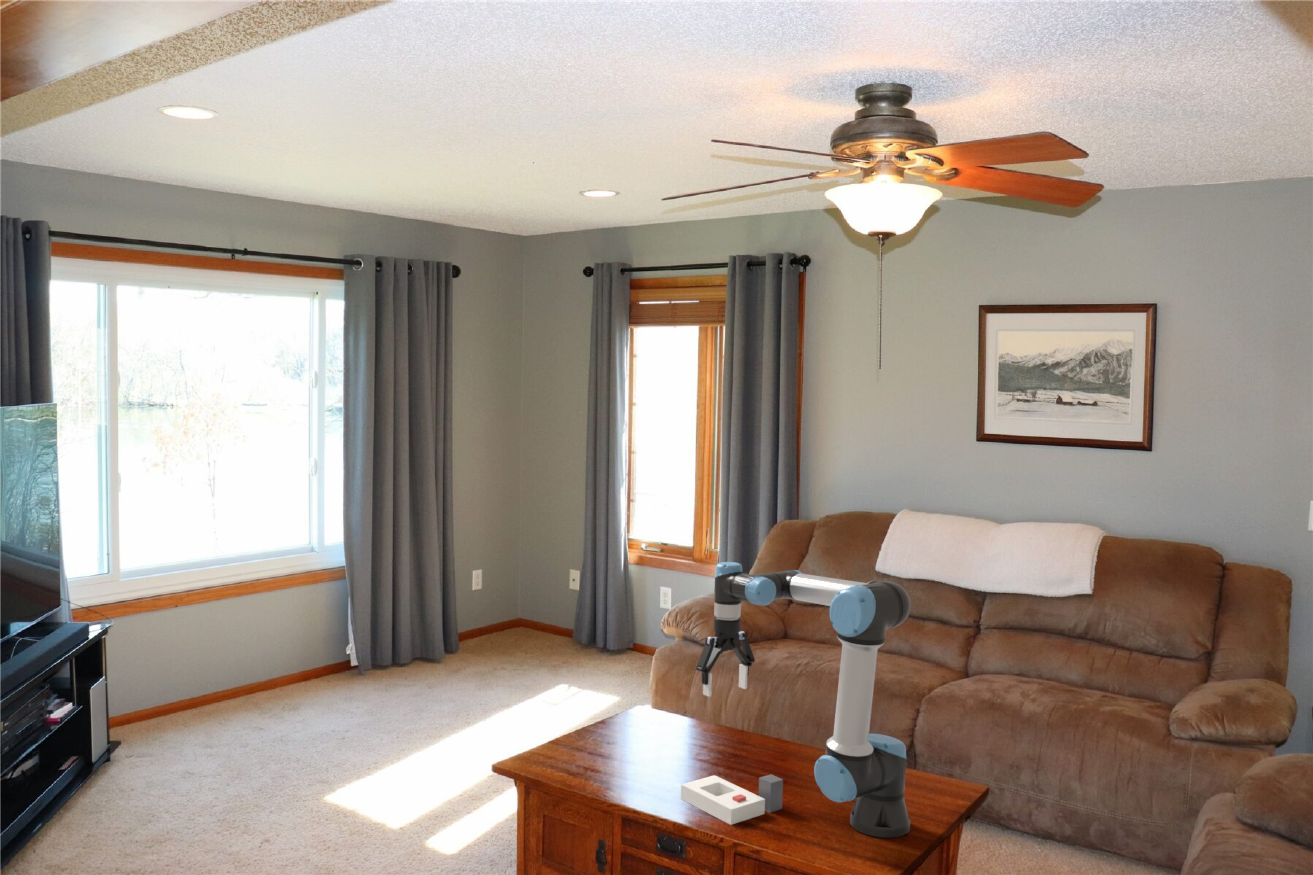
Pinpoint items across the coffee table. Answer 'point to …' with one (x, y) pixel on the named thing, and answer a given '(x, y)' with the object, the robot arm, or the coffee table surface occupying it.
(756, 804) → the socket plate
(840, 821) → the coffee table surface
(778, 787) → the plug
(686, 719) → the coffee table surface
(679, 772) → the coffee table surface
